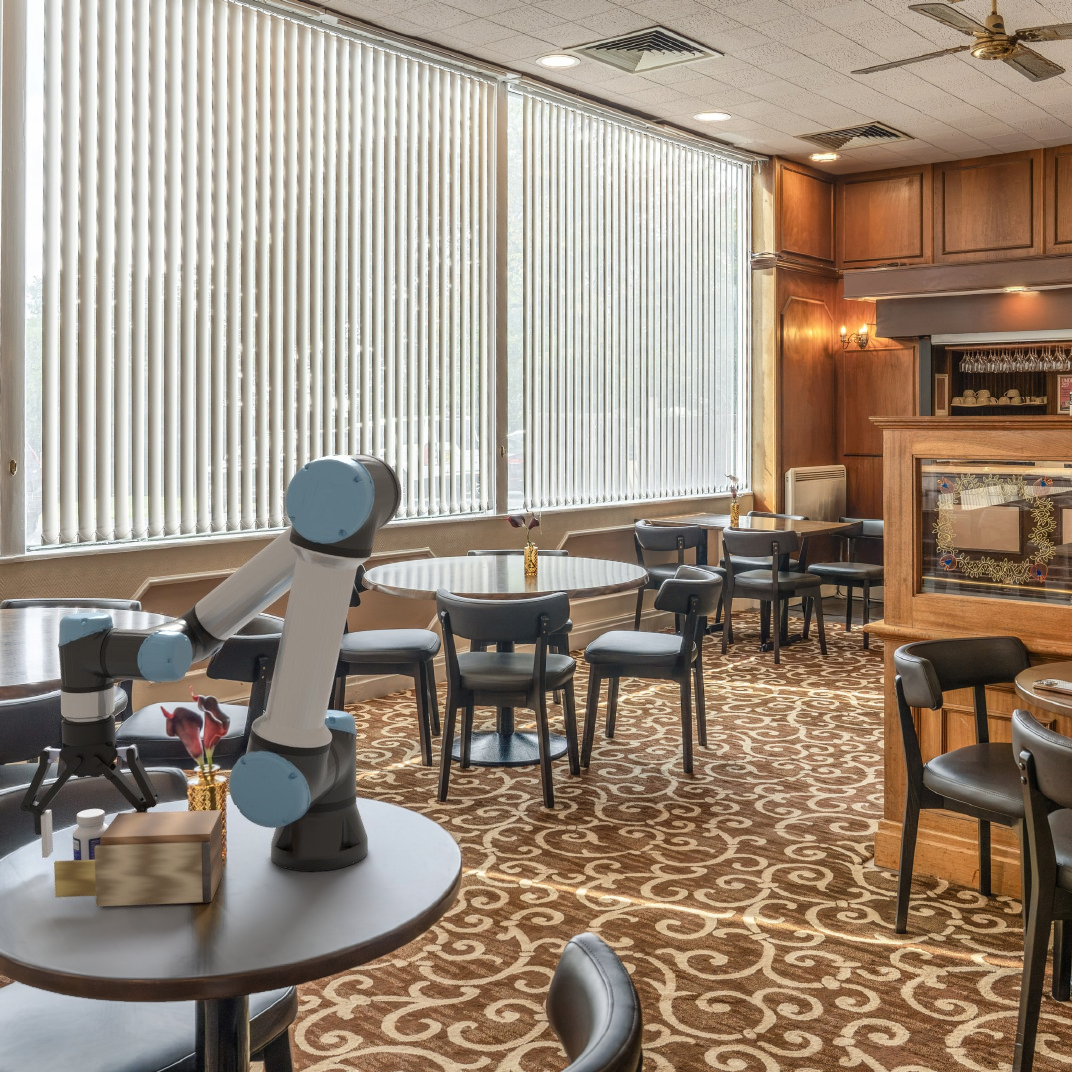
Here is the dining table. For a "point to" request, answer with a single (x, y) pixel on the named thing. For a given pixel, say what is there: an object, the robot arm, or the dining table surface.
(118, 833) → the case
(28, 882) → the dining table surface
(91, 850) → the pill bottle
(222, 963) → the dining table surface
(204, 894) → the door
